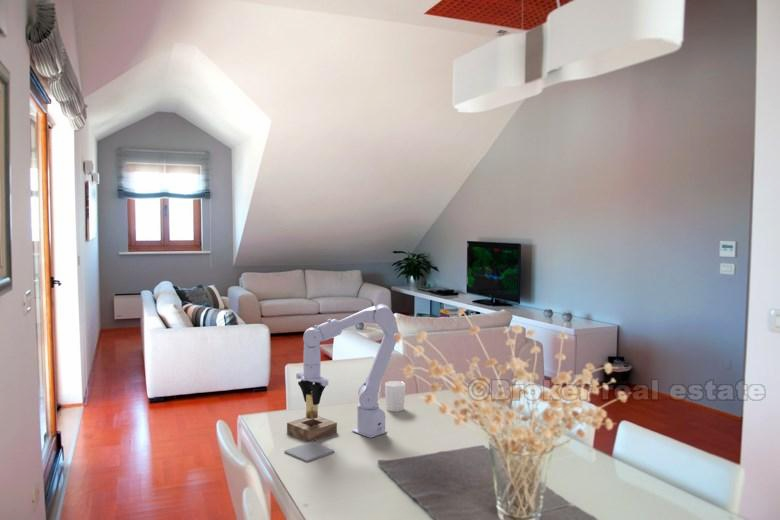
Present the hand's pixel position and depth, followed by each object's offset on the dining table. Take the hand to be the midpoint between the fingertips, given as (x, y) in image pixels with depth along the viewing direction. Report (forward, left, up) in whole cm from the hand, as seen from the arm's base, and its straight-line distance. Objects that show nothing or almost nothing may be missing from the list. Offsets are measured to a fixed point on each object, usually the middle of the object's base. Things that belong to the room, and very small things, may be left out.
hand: (312, 402), depth 206 cm
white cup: (-3, -39, -11) cm, 41 cm away
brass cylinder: (0, 0, -5) cm, 5 cm away
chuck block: (0, 0, -10) cm, 10 cm away
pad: (-13, +12, -10) cm, 21 cm away
